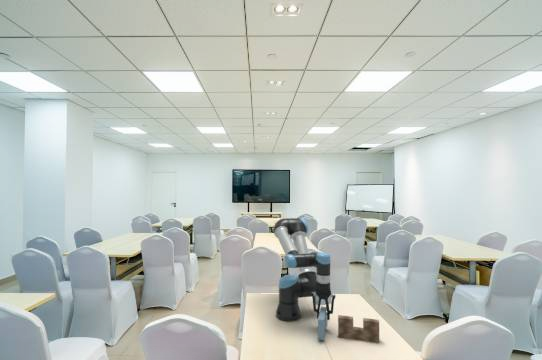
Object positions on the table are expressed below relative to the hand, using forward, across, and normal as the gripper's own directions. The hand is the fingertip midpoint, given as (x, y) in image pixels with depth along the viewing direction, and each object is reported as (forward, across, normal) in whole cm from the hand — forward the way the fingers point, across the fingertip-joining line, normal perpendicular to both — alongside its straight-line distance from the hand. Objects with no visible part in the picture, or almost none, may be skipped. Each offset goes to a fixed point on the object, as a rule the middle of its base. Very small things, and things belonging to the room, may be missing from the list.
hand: (323, 325), depth 152 cm
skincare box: (+3, -4, +38) cm, 39 cm away
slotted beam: (+2, +18, -5) cm, 19 cm away
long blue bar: (+1, 0, -6) cm, 6 cm away
